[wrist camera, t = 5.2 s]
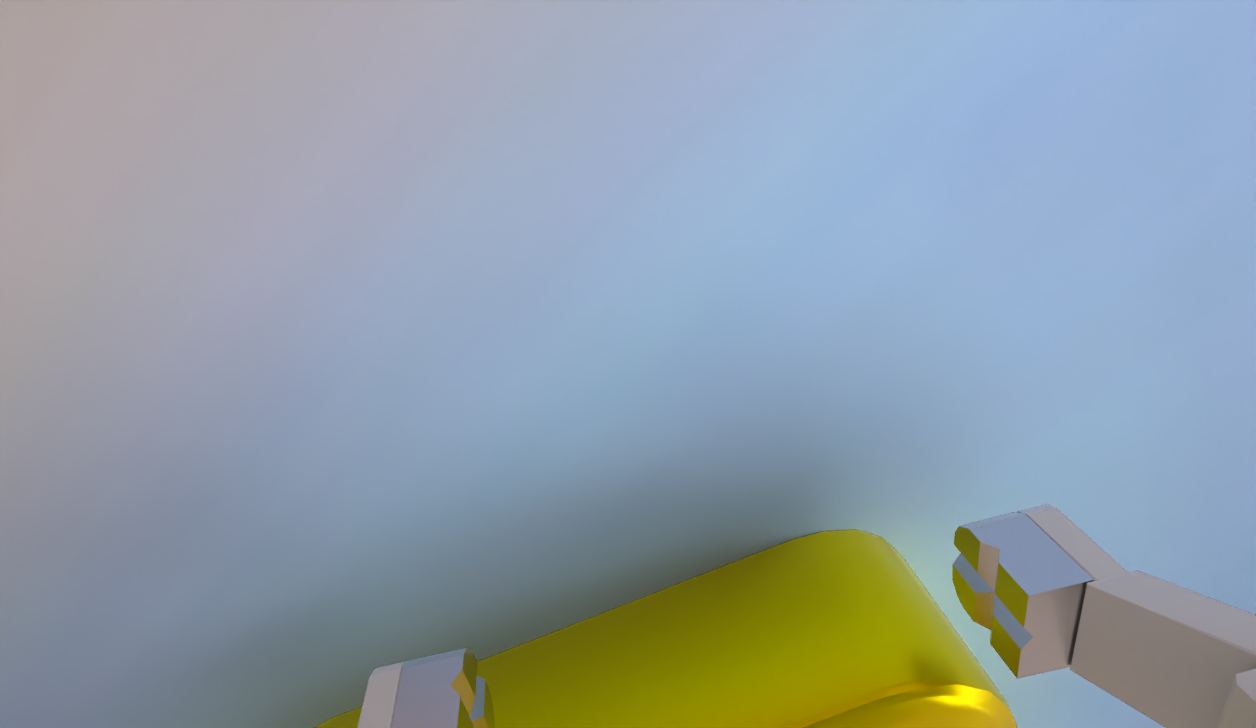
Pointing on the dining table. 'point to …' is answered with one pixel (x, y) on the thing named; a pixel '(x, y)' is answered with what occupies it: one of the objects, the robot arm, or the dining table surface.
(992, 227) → the dining table surface
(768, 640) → the element tile
